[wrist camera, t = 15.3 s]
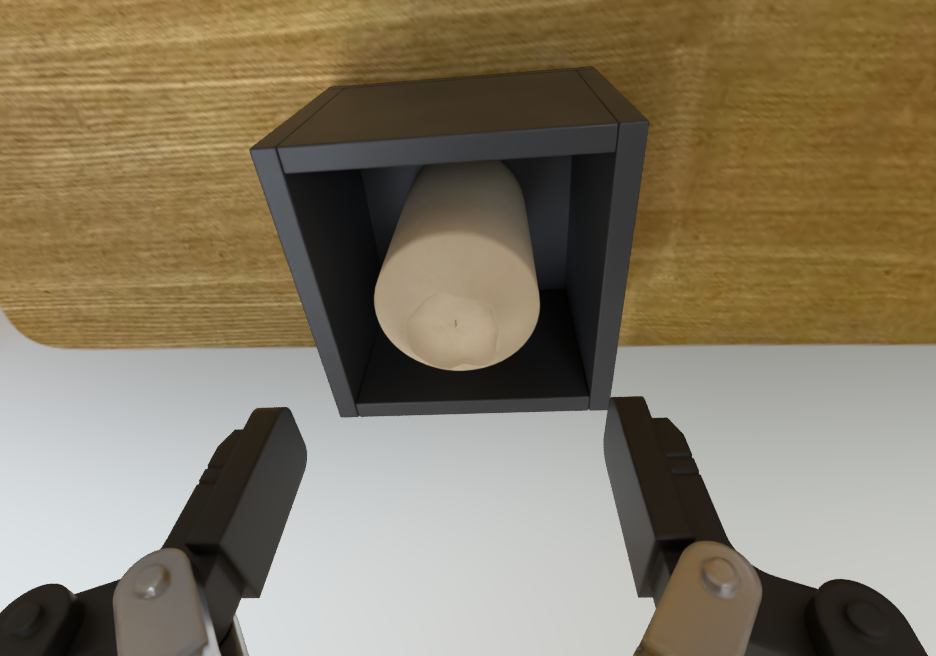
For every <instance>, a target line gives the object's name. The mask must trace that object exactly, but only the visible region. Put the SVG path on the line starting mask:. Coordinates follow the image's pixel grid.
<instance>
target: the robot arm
mask: <svg viewBox="0 0 936 656" xmlns="http://www.w3.org/2000/svg"><path fill="white" fill-rule="evenodd" d="M604 455H605V462H606V467H607V471H608V475H609V479H610V483H611V487H612V491H613V495H614V500H615V504H616V508H617V512H618V516H619V520H620V524H621V528H622V533H623V536H624V541H625V545H626V549H627V553H628V557H629V561H630V565H631V570H632V573H633V578H634V582H635V586H636V590H637V594H638V597H653V599H654V603H655V607H656V610H655V612H654V615H653V617H652V619H651V621H650V624H649V625H648V628H647V630H646V632H645V634H644V636H643V639H642V640H641V643H640V645H639V646H638V647H637V649H636V651H635V653H634V655H633V656H928V655H927V653H926V652H925V650H924V648H923V646H922V645H921V643H920V641H919V640H918V638H917V636H916V635H915V633H914V631H913V629H912V628H911V626H910V624H909V623H908V621H907V620H906V618H905V617H904V615H903V614H902V613H901V612H900V611H899V610H898V608H897V607H896V606H895V605H894V604H892V602H890V601H889V600H888V599H887V598H885V597H884V596H883V595H882V594H880V593H878V592H877V591H875V590H874V589H872V588H870V587H868V586H866V585H864V584H861V583H858V582H855V581H851V580H845V579H835V580H830V581H828V582H826V583H824V584H823V585H822V586H820V587H819V589H816V588H812V587H809V586H806V585H802V584H799V583H796V582H792V581H789V580H786V579H782V578H779V577H775V576H773V575H770V574H767V573H765V572H763V571H761V570H759V569H758V568H756V567H754V566H753V565H751V564H750V563H749V561H748V560H747V559H746V558H745V557H744V556H743V555H741V554H740V553H739V552H737V551H736V550H735V549H734V547H733V546H732V545H731V543H730V542H729V540H728V538H727V536H726V534H725V531H724V529H723V527H722V524H721V522H720V520H719V517H718V515H717V512H716V510H715V508H714V505H713V503H712V501H711V498H710V496H709V493H708V491H707V489H706V486H705V484H704V482H703V479H702V477H701V475H699V470H698V468H697V465H696V463H695V460H694V459H693V458H692V453H691V451H690V448H689V446H688V444H687V442H686V439H685V437H684V434H683V433H682V432H680V430H679V429H678V428H677V427H676V426H675V425H674V424H673V423H672V422H671V421H670V420H669V419H668V418H652V417H651V415H650V412H649V409H648V406H647V404H646V401H645V399H644V398H643V397H642V396H634V397H611V398H610V400H609V405H608V412H607V419H606V426H605V433H604ZM306 462H307V450H306V446H305V443H304V441H303V438H302V436H301V434H300V431H299V429H298V426H297V424H296V422H295V419H294V417H293V415H292V413H291V410H290V409H289V408H287V407H278V408H277V407H274V408H257V409H255V410H254V411H253V412H252V414H251V416H250V417H249V419H248V421H247V423H246V425H245V427H244V429H242V430H234V431H233V432H232V433H231V434H230V435H229V436H228V437H227V438H226V439H225V440H224V441H223V442H222V443H221V444H220V445H219V446H218V447H217V449H216V451H215V453H214V455H213V457H212V458H211V460H210V462H209V464H208V469H205V471H204V473H203V475H202V476H201V478H200V480H199V485H197V486H196V487H195V489H194V491H193V493H192V495H191V496H190V498H189V500H188V502H187V504H186V506H185V507H184V509H183V511H182V513H181V514H180V516H179V518H178V520H177V522H176V524H175V525H174V527H173V529H172V531H171V533H170V535H169V536H168V538H167V540H166V542H165V543H164V545H163V546H162V548H161V549H160V550H157V551H154V552H152V553H150V554H148V555H146V556H145V557H143V558H141V559H140V560H139V561H137V562H136V563H135V564H134V565H133V566H132V567H131V568H129V570H128V571H127V572H126V573H125V574H124V576H123V577H122V578H121V579H119V580H117V581H114V582H111V583H108V584H105V585H102V586H98V587H95V588H92V589H90V590H86V591H83V592H80V593H77V594H73V593H72V592H71V591H69V590H68V589H67V588H66V587H64V586H63V585H60V584H46V585H42V586H39V587H37V588H34V589H32V590H30V591H28V592H27V593H24V594H23V595H21V596H20V597H18V598H17V599H16V600H14V601H13V602H12V603H10V604H9V605H8V606H7V607H6V608H5V609H4V610H3V611H2V612H1V613H0V656H249V654H248V651H247V648H246V644H245V641H244V638H243V634H242V631H241V627H240V624H239V621H238V618H237V616H236V614H235V613H236V610H237V607H238V605H239V602H240V600H241V598H260V595H261V592H262V589H263V587H264V584H265V581H266V578H267V575H268V572H269V570H270V567H271V564H272V561H273V558H274V555H275V553H276V550H277V547H278V544H279V542H280V539H281V536H282V533H283V530H284V527H285V524H286V522H287V519H288V516H289V513H290V511H291V508H292V505H293V502H294V499H295V496H296V494H297V491H298V488H299V485H300V482H301V480H302V477H303V474H304V471H305V468H306Z"/></svg>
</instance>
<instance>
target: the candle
mask: <svg viewBox="0 0 936 656" xmlns="http://www.w3.org/2000/svg"><path fill="white" fill-rule="evenodd" d="M374 305H375V311H376V315H377V318H378V321H379V323H380V325H381V327H382V329H383V331H384V333H385V334H386V335H387V337H388V338H389V339H390V340H391V342H392V343H393V344H394V345H395V346H396V347H397V348H399V349H400V350H401V351H402V352H404V353H405V354H406V355H408V356H409V357H411V358H413V359H415V360H417V361H419V362H421V363H424V364H426V365H429V366H432V367H436V368H440V369H445V370H454V371H464V370H474V369H479V368H484V367H487V366H491V365H494V364H496V363H498V362H501V361H503V360H504V359H506V358H508V357H510V356H511V355H512V354H514V353H515V352H516V351H518V350H519V349H520V348H521V347H522V346H523V345H524V344H525V342H526V341H527V340H528V339H529V337H530V336H531V334H532V332H533V331H534V328H535V326H536V323H537V321H538V316H539V310H540V299H539V290H538V284H537V277H536V271H535V264H534V258H533V251H532V245H531V238H530V232H529V225H528V219H527V212H526V206H525V201H524V196H523V192H522V189H521V187H520V184H519V182H518V180H517V179H516V177H515V176H514V174H513V173H512V172H511V170H510V169H509V168H508V167H507V166H506V165H505V164H504V163H502V162H501V161H500V160H490V161H475V162H460V163H445V164H430V165H425V166H424V167H423V168H422V169H421V170H420V172H419V173H418V174H417V176H416V177H415V179H414V181H413V183H412V185H411V187H410V190H409V192H408V195H407V198H406V201H405V203H404V206H403V209H402V212H401V215H400V218H399V220H398V223H397V226H396V229H395V232H394V235H393V237H392V240H391V243H390V246H389V249H388V252H387V254H386V257H385V260H384V263H383V266H382V269H381V272H380V274H379V277H378V281H377V284H376V287H375V294H374Z"/></svg>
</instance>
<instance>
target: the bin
mask: <svg viewBox="0 0 936 656" xmlns="http://www.w3.org/2000/svg"><path fill="white" fill-rule="evenodd" d="M648 127H649V120H648V119H647V118H646V117H645V116H644V115H642V114H641V113H640V112H639V111H638V110H637V109H636V108H635V107H634V106H633V105H632V104H631V103H630V102H629V101H628V100H627V99H626V98H625V97H624V96H623V95H622V94H621V93H620V92H619V91H618V90H617V89H616V88H615V87H614V86H613V85H612V84H611V83H610V82H609V81H608V80H606V79H605V78H604V77H603V76H602V75H601V74H600V73H599V72H598V71H597V70H596V69H595V68H594V67H580V68H567V69H555V70H542V71H529V72H517V73H504V74H491V75H479V76H466V77H454V78H441V79H428V80H416V81H403V82H391V83H378V84H365V85H353V86H340V87H329V88H328V89H327V90H325V91H324V92H323V93H321V94H320V95H319V96H317V97H316V98H315V99H314V100H312V101H311V102H310V103H308V104H307V105H306V106H305V107H303V108H302V109H301V110H299V111H298V112H297V113H295V114H294V115H293V116H292V117H290V118H289V119H288V120H286V121H285V122H284V123H282V124H281V125H280V126H279V127H277V128H276V129H275V130H273V131H272V132H271V133H269V134H268V135H267V136H266V137H264V138H263V139H262V140H260V141H259V142H258V143H257V144H255V145H254V146H253V147H251V148H250V154H251V157H252V159H253V162H254V165H255V168H256V171H257V174H258V177H259V180H260V183H261V186H262V189H263V192H264V195H265V197H266V200H267V203H268V206H269V209H270V212H271V215H272V218H273V221H274V224H275V227H276V230H277V232H278V235H279V238H280V241H281V244H282V247H283V250H284V253H285V256H286V259H287V262H288V265H289V268H290V270H291V273H292V276H293V279H294V282H295V285H296V288H297V291H298V294H299V297H300V300H301V303H302V306H303V308H304V311H305V314H306V317H307V320H308V323H309V326H310V329H311V332H312V335H313V338H314V341H315V344H316V346H317V349H318V352H319V355H320V358H321V361H322V364H323V367H324V370H325V373H326V376H327V379H328V382H329V384H330V387H331V390H332V393H333V396H334V399H335V402H336V405H337V407H338V410H339V414H340V417H358V416H361V417H365V416H366V417H367V416H402V415H439V414H474V413H510V412H543V411H544V412H545V411H546V412H547V411H583V410H588V409H589V410H608V405H609V400H610V396H611V389H612V381H613V375H614V368H615V361H616V354H617V347H618V340H619V333H620V326H621V318H622V311H623V304H624V297H625V290H626V283H627V276H628V269H629V262H630V255H631V248H632V241H633V234H634V226H635V219H636V212H637V205H638V198H639V191H640V184H641V177H642V170H643V163H644V156H645V149H646V142H647V135H648ZM490 160H500V161H501V162H502V163H504V164H505V165H506V166H507V167H508V168H509V169H510V170H511V172H512V173H513V174H514V176H515V177H516V179H517V180H518V182H519V184H520V187H521V189H522V192H523V196H524V201H525V206H526V212H527V219H528V225H529V232H530V238H531V245H532V251H533V258H534V264H535V271H536V277H537V284H538V290H539V299H540V310H539V316H538V321H537V323H536V326H535V328H534V331H533V332H532V334H531V336H530V337H529V339H528V340H527V341H526V342H525V344H524V345H523V346H522V347H521V348H520V349H519V350H518V351H516V352H515V353H514V354H512V355H511V356H510V357H508V358H506V359H504V360H503V361H501V362H498V363H496V364H494V365H491V366H487V367H484V368H479V369H474V370H464V371H454V370H445V369H440V368H436V367H432V366H429V365H426V364H424V363H421V362H419V361H417V360H415V359H413V358H411V357H409V356H408V355H406V354H405V353H404V352H402V351H401V350H400V349H399V348H397V347H396V346H395V345H394V344H393V343H392V342H391V340H390V339H389V338H388V337H387V335H386V334H385V333H384V331H383V329H382V327H381V325H380V323H379V321H378V318H377V315H376V311H375V305H374V294H375V287H376V284H377V281H378V277H379V274H380V272H381V269H382V266H383V263H384V260H385V257H386V254H387V252H388V249H389V246H390V243H391V240H392V237H393V235H394V232H395V229H396V226H397V223H398V220H399V218H400V215H401V212H402V209H403V206H404V203H405V201H406V198H407V195H408V192H409V190H410V187H411V185H412V183H413V181H414V179H415V177H416V176H417V174H418V173H419V172H420V170H421V169H422V168H423V167H424V166H425V165H430V164H445V163H460V162H475V161H490Z"/></svg>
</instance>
